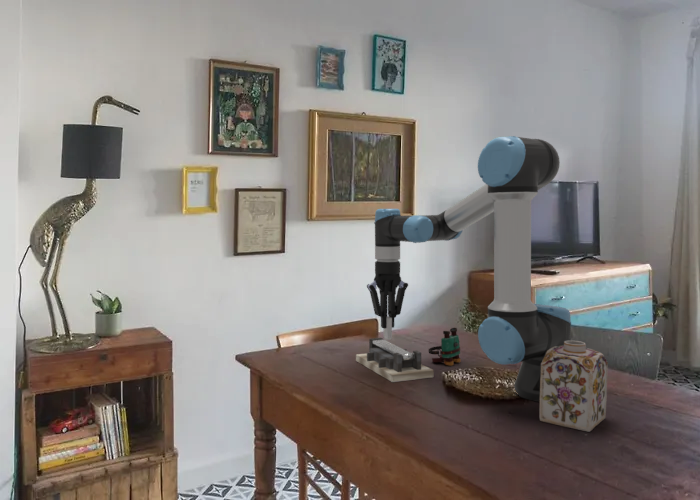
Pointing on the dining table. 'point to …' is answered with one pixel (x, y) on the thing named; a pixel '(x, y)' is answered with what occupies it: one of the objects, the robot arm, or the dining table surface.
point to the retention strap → (394, 349)
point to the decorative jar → (573, 386)
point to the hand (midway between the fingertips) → (387, 338)
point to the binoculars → (448, 348)
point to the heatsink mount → (393, 364)
